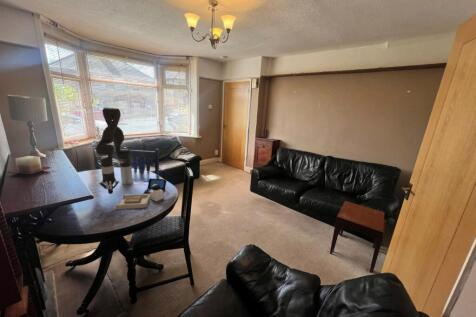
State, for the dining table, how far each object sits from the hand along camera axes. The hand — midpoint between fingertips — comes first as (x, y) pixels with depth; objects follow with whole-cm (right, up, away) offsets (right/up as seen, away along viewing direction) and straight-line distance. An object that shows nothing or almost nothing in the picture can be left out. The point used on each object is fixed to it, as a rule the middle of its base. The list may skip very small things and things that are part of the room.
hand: (110, 193), depth 150 cm
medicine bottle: (+29, -7, +14) cm, 33 cm away
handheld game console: (+22, -3, +28) cm, 36 cm away
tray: (+14, -8, +6) cm, 17 cm away
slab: (+9, -6, +4) cm, 12 cm away
